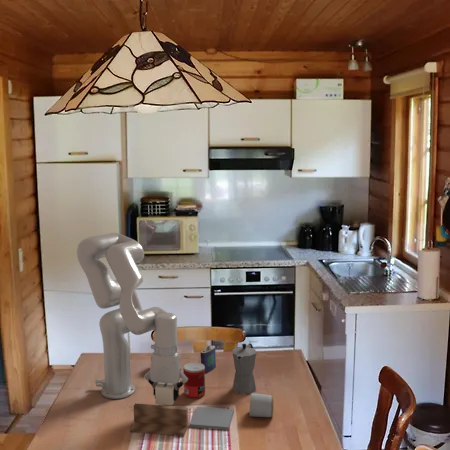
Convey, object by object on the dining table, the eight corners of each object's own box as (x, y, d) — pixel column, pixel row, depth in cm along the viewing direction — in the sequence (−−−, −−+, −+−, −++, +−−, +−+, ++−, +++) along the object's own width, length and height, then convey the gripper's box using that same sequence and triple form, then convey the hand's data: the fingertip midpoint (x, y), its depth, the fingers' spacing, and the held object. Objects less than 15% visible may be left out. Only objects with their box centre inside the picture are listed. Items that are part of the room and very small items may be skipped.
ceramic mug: (273, 421, 184) (273, 399, 182) (249, 420, 184) (249, 399, 183) (273, 406, 194) (273, 386, 193) (250, 405, 195) (250, 385, 194)
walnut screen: (130, 431, 178) (129, 411, 177) (135, 423, 183) (135, 403, 182) (184, 436, 175) (183, 415, 174) (188, 427, 180) (187, 407, 179)
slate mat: (189, 426, 181) (189, 424, 180) (197, 409, 192) (197, 406, 192) (228, 430, 178) (228, 427, 178) (233, 411, 190) (233, 409, 190)
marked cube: (155, 403, 187) (155, 386, 186) (160, 395, 193) (160, 379, 192) (172, 405, 186) (172, 388, 185) (176, 396, 192) (176, 380, 191)
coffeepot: (250, 398, 200) (250, 351, 197) (226, 394, 203) (226, 348, 200) (263, 381, 214) (263, 337, 211) (240, 377, 217) (240, 334, 214)
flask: (212, 365, 229) (211, 340, 228) (218, 366, 228) (217, 342, 226) (199, 373, 222) (199, 348, 220) (205, 374, 220) (204, 349, 218)
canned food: (202, 400, 199) (202, 371, 197) (181, 398, 201) (180, 369, 199) (207, 390, 206) (206, 363, 205) (187, 388, 208) (186, 361, 206)
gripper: (138, 351, 184) (138, 401, 187) (188, 355, 181) (187, 405, 185) (145, 343, 191) (145, 390, 195) (193, 346, 189) (192, 395, 192)
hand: (166, 397), depth 190 cm, fingers closed on marked cube, 6 cm apart
